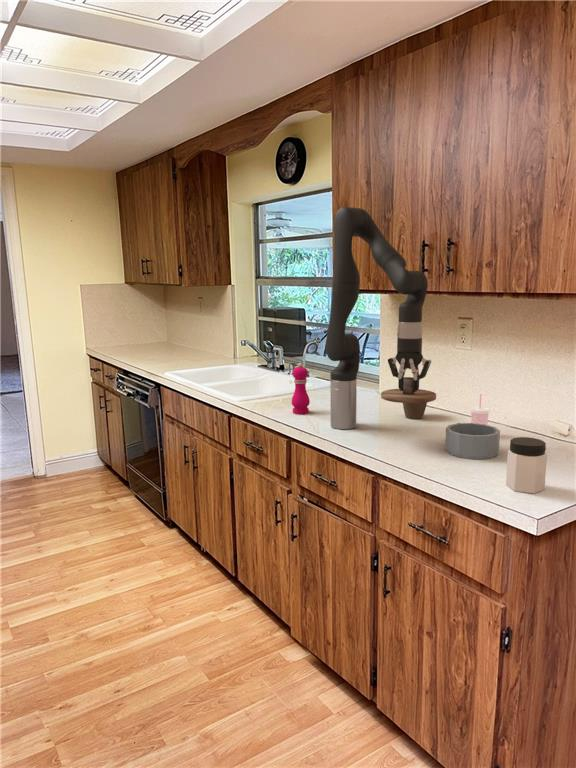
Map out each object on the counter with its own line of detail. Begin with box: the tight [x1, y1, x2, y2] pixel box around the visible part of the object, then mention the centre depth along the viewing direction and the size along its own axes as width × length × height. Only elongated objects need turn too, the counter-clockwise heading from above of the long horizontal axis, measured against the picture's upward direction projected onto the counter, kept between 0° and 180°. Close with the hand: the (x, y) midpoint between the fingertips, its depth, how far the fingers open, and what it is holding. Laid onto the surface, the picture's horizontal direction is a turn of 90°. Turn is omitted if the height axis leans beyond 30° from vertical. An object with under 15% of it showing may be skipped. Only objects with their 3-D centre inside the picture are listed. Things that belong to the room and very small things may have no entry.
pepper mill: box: [291, 362, 311, 415], centre depth 223 cm, size 7×7×20 cm
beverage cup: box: [470, 393, 490, 425], centre depth 188 cm, size 6×6×14 cm
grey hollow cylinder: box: [444, 422, 501, 460], centre depth 171 cm, size 15×15×7 cm
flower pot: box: [402, 402, 428, 420], centre depth 214 cm, size 12×11×10 cm
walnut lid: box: [380, 376, 437, 404], centre depth 178 cm, size 17×17×6 cm
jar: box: [505, 436, 548, 494], centre depth 141 cm, size 9×8×12 cm
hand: (408, 390), depth 178 cm, fingers closed on walnut lid, 3 cm apart
